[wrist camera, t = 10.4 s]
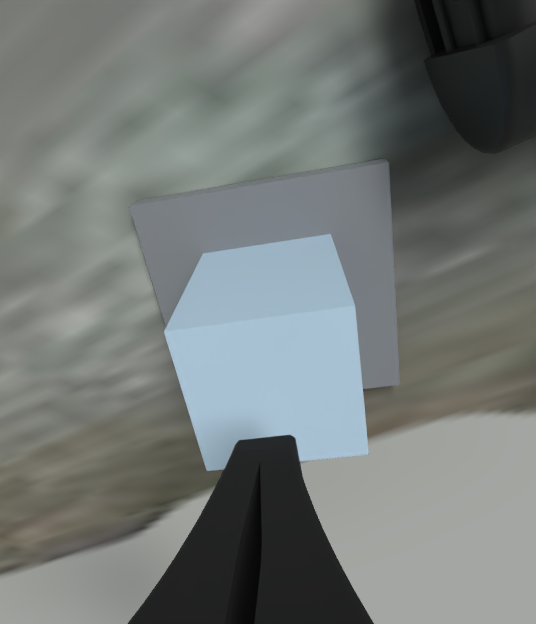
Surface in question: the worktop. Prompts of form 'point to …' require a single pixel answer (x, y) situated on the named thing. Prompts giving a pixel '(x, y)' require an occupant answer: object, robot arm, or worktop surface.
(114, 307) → the worktop surface
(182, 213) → the board
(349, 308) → the pale blue cube
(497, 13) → the end cap
